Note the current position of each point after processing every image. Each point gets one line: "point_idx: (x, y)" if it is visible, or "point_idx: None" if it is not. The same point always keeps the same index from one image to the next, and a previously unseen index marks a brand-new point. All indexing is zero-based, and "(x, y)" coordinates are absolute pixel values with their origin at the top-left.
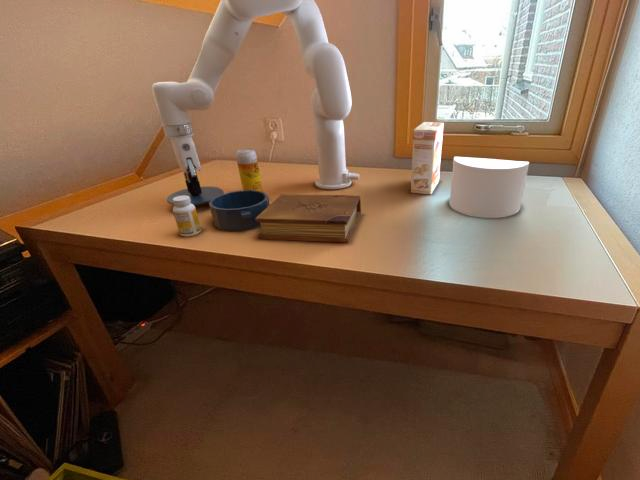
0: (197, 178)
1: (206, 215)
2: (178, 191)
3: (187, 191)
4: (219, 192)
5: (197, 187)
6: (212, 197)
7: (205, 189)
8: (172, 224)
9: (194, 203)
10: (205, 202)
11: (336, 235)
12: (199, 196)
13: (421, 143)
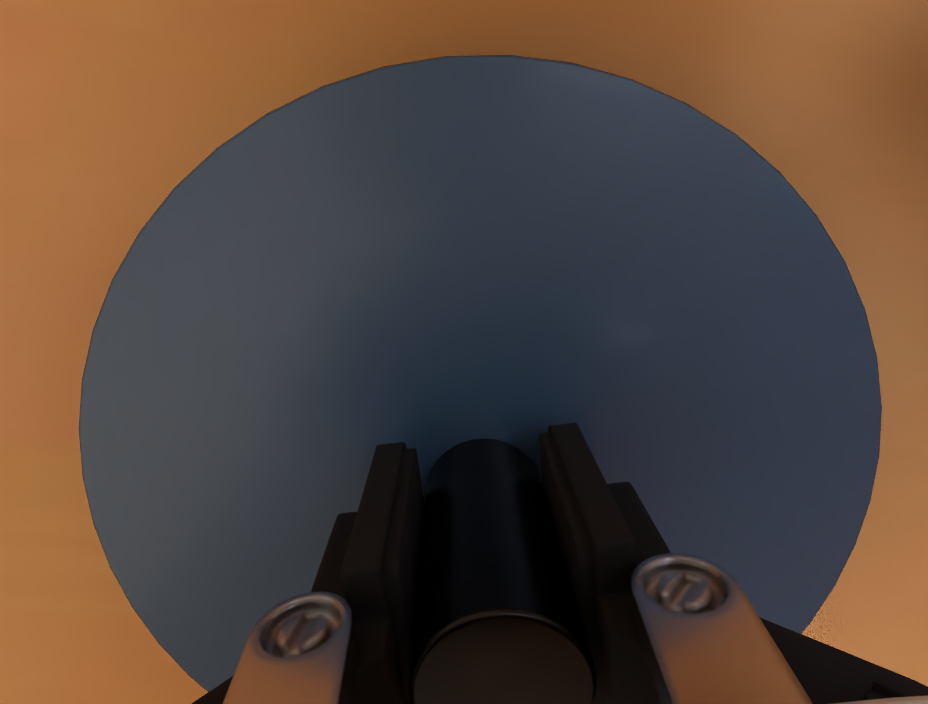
0: (748, 615)
1: (910, 387)
2: (199, 667)
3: (257, 571)
4: (586, 136)
5: (647, 525)
6: (783, 287)
7: (283, 330)
8: (905, 675)
9: (857, 535)
10: (871, 400)
11: None
12: (604, 451)
13: None
